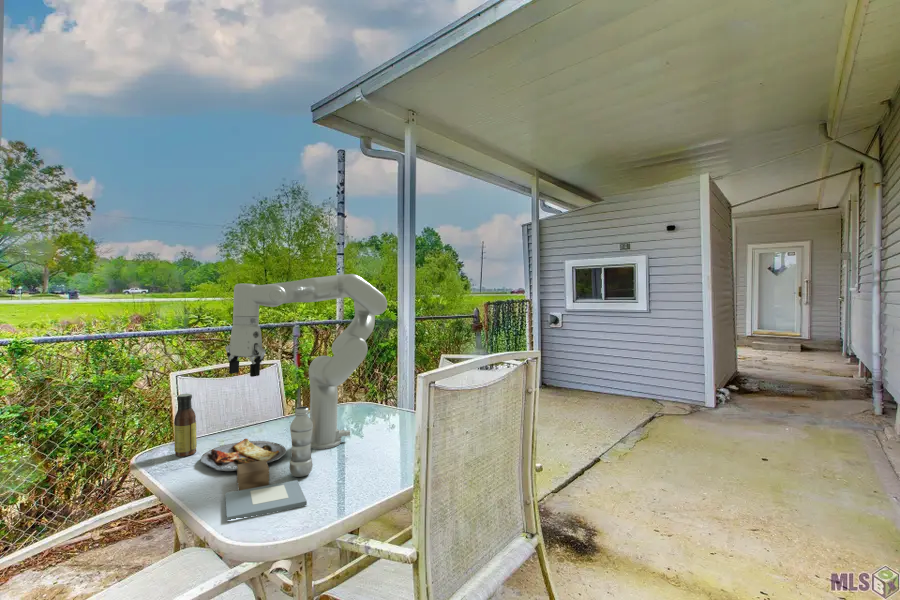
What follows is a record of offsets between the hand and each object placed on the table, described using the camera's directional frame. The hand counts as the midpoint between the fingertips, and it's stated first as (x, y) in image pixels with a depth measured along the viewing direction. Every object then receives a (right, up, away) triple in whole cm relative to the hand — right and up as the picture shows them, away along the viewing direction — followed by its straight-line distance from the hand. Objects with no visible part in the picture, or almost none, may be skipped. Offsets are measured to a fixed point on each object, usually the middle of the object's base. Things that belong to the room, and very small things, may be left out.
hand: (244, 374), depth 138 cm
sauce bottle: (-21, -27, +4) cm, 35 cm away
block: (+11, -28, -18) cm, 35 cm away
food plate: (0, -28, 0) cm, 28 cm away
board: (+19, -28, -28) cm, 44 cm away
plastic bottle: (+22, -28, -11) cm, 38 cm away
